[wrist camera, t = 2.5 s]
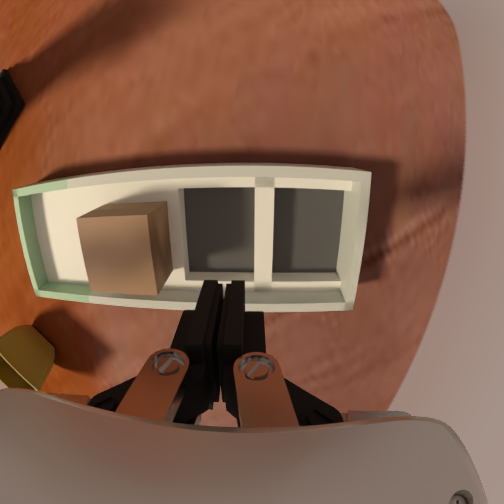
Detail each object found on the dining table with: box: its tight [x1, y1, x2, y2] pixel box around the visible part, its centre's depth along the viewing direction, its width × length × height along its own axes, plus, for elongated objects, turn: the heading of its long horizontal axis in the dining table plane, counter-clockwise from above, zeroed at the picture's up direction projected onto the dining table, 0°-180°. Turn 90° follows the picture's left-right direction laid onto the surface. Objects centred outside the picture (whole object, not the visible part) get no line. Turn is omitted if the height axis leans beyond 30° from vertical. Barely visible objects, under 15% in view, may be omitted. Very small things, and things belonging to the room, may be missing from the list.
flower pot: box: [0, 325, 55, 391], centre depth 26 cm, size 9×9×9 cm
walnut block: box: [76, 201, 173, 296], centre depth 20 cm, size 6×6×4 cm
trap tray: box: [13, 163, 371, 312], centre depth 22 cm, size 12×32×4 cm, turn 90°
